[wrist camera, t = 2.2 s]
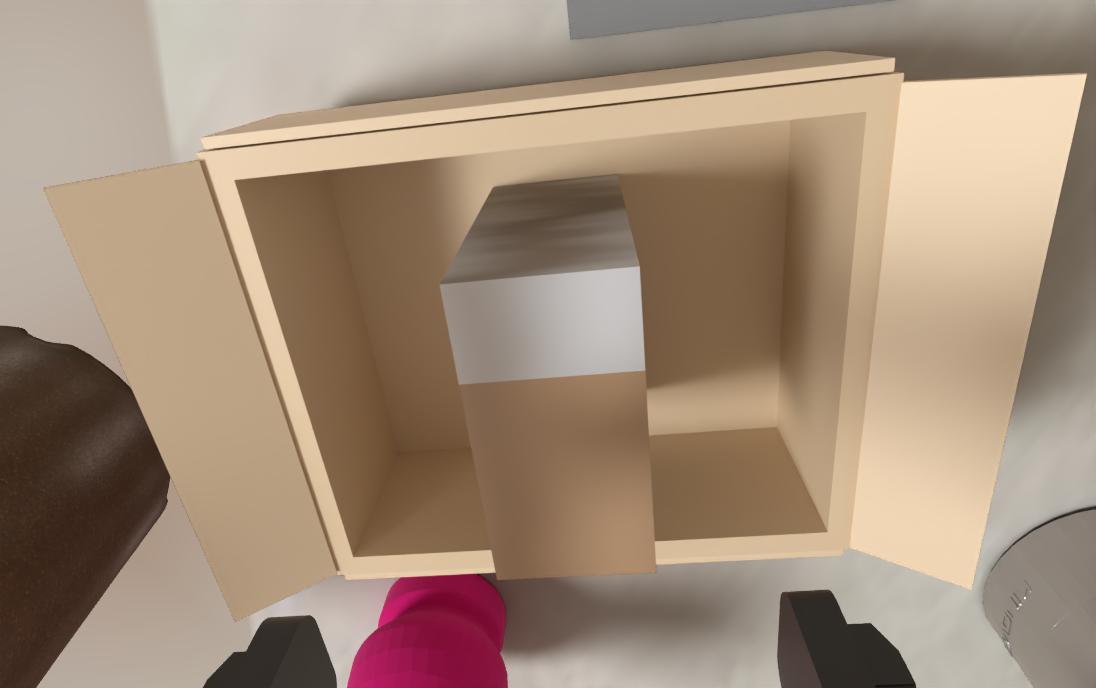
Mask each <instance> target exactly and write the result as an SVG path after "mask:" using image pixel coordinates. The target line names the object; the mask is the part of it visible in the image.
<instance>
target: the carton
mask: <svg viewBox="0 0 1096 688" xmlns="http://www.w3.org/2000/svg"><path fill="white" fill-rule="evenodd" d="M894 67H895V58H891V57H882V56H872V55H863V54H853V53H844V52H834V51H818V52H810V53H801V54H793V55H784V56H776V57H767V58H759V59H750V60H741V61H733V62H724V63H716V64H707V65H699V66H690V67H682V68H673V69H665V70H656V71H647V72H639V73H630V74H622V75H613V76H605V77H596V78H588V79H579V80H571V81H562V82H553V83H545V84H536V85H528V86H519V87H511V88H502V89H494V90H485V91H477V92H468V93H459V94H451V95H442V96H434V97H425V98H417V99H408V100H400V101H391V102H383V103H374V104H366V105H357V106H348V107H340V108H331V109H323V110H314V111H306V112H297V113H289V114H280V115H276V116H273V117H269V118H266V119H263V120H259V121H256V122H252V123H249V124H246V125H242V126H239V127H236V128H232V129H229V130H225V131H222V132H219V133H215V134H212V135H209V136H205V137H202V138H201V141H202V144H203V147H204V149H206V150H203V151H200V152H197V153H196V154H197V157H198V160H195V161H190V162H184V163H179V164H173V165H167V166H163V167H157V168H151V169H145V170H139V171H134V172H128V173H123V174H117V175H111V176H106V177H101V178H95V179H89V180H84V181H78V182H72V183H67V184H61V185H56V186H50V187H45V188H44V192H45V194H46V196H47V198H48V201H49V203H50V205H51V208H52V210H53V212H54V214H55V217H56V219H57V221H58V223H59V226H60V228H61V230H62V232H63V235H64V237H65V239H66V242H67V244H68V246H69V248H70V250H71V253H72V255H73V257H74V259H75V262H76V264H77V266H78V269H79V271H80V273H81V275H82V278H83V280H84V282H85V284H86V287H87V289H88V291H89V294H90V296H91V298H92V300H93V302H94V305H95V307H96V309H97V312H98V314H99V316H100V318H101V320H102V323H103V325H104V327H105V330H106V332H107V334H108V336H109V339H110V341H111V343H112V346H113V348H114V350H115V352H116V355H117V357H118V359H119V361H120V364H121V366H122V368H123V370H124V373H125V375H126V377H127V379H128V382H129V384H130V386H131V389H132V391H133V393H134V395H135V398H136V400H137V402H138V404H139V407H140V409H141V411H142V413H143V416H144V418H145V420H146V422H147V425H148V427H149V429H150V431H151V434H152V436H153V438H154V441H155V443H156V445H157V447H158V450H159V452H160V454H161V456H162V459H163V461H164V463H165V465H166V468H167V470H168V472H169V474H170V477H171V479H172V481H173V483H174V486H175V488H176V490H177V493H178V495H179V497H180V499H181V501H182V504H183V506H184V508H185V511H186V513H187V515H188V517H189V519H190V522H191V524H192V526H193V529H194V531H195V533H196V535H197V538H198V540H199V542H200V545H201V547H202V549H203V551H204V554H205V556H206V558H207V560H208V563H209V565H210V567H211V569H212V572H213V574H214V576H215V578H216V580H217V583H218V585H219V587H220V590H221V592H222V594H223V597H224V599H225V601H226V603H227V605H228V608H229V610H230V612H231V615H232V617H233V619H234V621H235V622H237V621H239V620H241V619H243V618H245V617H247V616H249V615H251V614H253V613H255V612H258V611H260V610H262V609H264V608H266V607H268V606H270V605H272V604H274V603H276V602H278V601H280V600H283V599H285V598H287V597H289V596H291V595H293V594H295V593H297V592H299V591H301V590H303V589H306V588H308V587H310V586H312V585H314V584H316V583H318V582H320V581H322V580H324V579H326V578H329V577H331V576H333V575H335V574H337V575H344V576H345V579H346V580H355V579H376V578H396V577H416V576H436V575H456V574H477V573H496V572H495V567H494V562H493V557H492V552H491V546H490V541H489V536H488V531H487V526H486V521H485V516H484V511H483V505H482V500H481V495H480V490H479V485H478V480H477V475H476V470H475V464H474V459H473V454H472V449H471V444H470V439H469V434H468V429H467V423H466V418H465V413H464V408H463V403H462V398H461V393H460V388H459V382H458V377H457V372H456V367H455V362H454V357H453V352H452V347H451V342H450V336H449V331H448V326H447V321H446V316H445V311H444V306H443V301H442V295H441V290H440V285H439V284H440V283H441V281H442V279H443V277H444V275H445V273H446V272H447V270H448V268H449V266H450V264H451V263H452V261H453V259H454V257H455V255H456V253H457V252H458V250H459V248H460V246H461V244H462V243H463V241H464V239H465V237H466V235H467V233H468V232H469V230H470V228H471V226H472V224H473V223H474V221H475V219H476V217H477V215H478V213H479V212H480V210H481V208H482V206H483V204H484V203H485V201H486V199H487V197H488V195H489V193H490V192H491V190H492V188H493V187H495V186H504V185H514V184H524V183H533V182H543V181H553V180H562V179H572V178H582V177H591V176H601V175H611V174H618V177H619V182H620V186H621V190H622V194H623V198H624V203H625V207H626V211H627V215H628V219H629V224H630V228H631V232H632V236H633V240H634V245H635V249H636V253H637V257H638V261H639V266H640V281H641V299H642V317H643V336H644V354H645V372H646V391H647V409H648V427H649V446H650V464H651V482H652V501H653V519H654V537H655V555H656V565H659V564H679V563H699V562H719V561H739V560H760V559H780V558H800V557H820V556H840V555H843V550H848V549H851V548H852V549H855V550H858V551H861V552H864V553H867V554H870V555H873V556H875V557H878V558H881V559H884V560H887V561H890V562H893V563H896V564H898V565H901V566H904V567H907V568H910V569H913V570H916V571H919V572H921V573H924V574H927V575H930V576H933V577H936V578H939V579H942V580H945V581H947V582H950V583H953V584H956V585H959V586H962V587H965V588H968V589H970V590H971V589H972V585H973V581H974V577H975V572H976V568H977V563H978V559H979V554H980V550H981V546H982V541H983V537H984V532H985V528H986V523H987V519H988V514H989V510H990V505H991V501H992V496H993V492H994V488H995V483H996V479H997V474H998V470H999V465H1000V461H1001V456H1002V452H1003V447H1004V443H1005V438H1006V434H1007V430H1008V425H1009V421H1010V416H1011V412H1012V407H1013V403H1014V398H1015V394H1016V389H1017V385H1018V380H1019V376H1020V372H1021V367H1022V363H1023V358H1024V354H1025V349H1026V345H1027V340H1028V336H1029V331H1030V327H1031V323H1032V318H1033V314H1034V309H1035V305H1036V300H1037V296H1038V291H1039V287H1040V282H1041V278H1042V273H1043V269H1044V265H1045V260H1046V256H1047V251H1048V247H1049V242H1050V238H1051V233H1052V229H1053V224H1054V220H1055V215H1056V211H1057V207H1058V202H1059V198H1060V193H1061V189H1062V184H1063V180H1064V175H1065V171H1066V166H1067V162H1068V157H1069V153H1070V149H1071V144H1072V140H1073V135H1074V131H1075V126H1076V122H1077V117H1078V113H1079V108H1080V104H1081V100H1082V95H1083V91H1084V86H1085V82H1086V77H1087V73H1088V72H1087V73H1066V74H1044V75H1023V76H1002V77H980V78H959V79H937V80H916V81H904V82H903V79H904V73H901V72H895V71H894Z"/></svg>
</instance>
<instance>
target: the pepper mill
mask: <svg viewBox="0 0 1096 688" xmlns="http://www.w3.org/2000/svg"><path fill="white" fill-rule="evenodd" d="M505 623H506V610H505V606H504V602H503V600H502V598H501V597H500V595H499V593H498V592H497V590H496V589H495V588H494V587H493V586H492V585H491V584H490V583H488V582H487V581H486V580H485V579H483V578H482V577H480V576H478V575H476V574H456V575H436V576H416V577H401V578H400V579H399V580H397V581H396V582H395V583H394V585H393V586H392V587H391V589H390V590H389V593H388V595H387V598H386V601H385V604H384V607H383V610H382V613H381V616H380V619H379V624H378V629H377V630H376V631H374V632H373V633H372V634H371V635H370V636H369V637H368V638H367V639H366V640H365V641H364V642H363V644H362V645H361V647H360V649H359V650H358V652H357V654H356V656H355V658H354V662H353V665H352V669H351V673H350V677H349V681H348V686H347V688H508V681H507V671H506V667H505V664H504V661H503V659H502V657H501V655H500V651H501V648H502V645H503V638H504V631H505Z"/></svg>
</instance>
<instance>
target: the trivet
mask: <svg viewBox="0 0 1096 688" xmlns="http://www.w3.org/2000/svg"><path fill="white" fill-rule="evenodd" d="M883 1H891V0H567V6H568V18H569V29H570V40H573V39H581V38H589V37H597V36H606V35H614V34H622V33H630V32H638V31H646V30H654V29H663V28H671V27H679V26H687V25H695V24H703V23H712V22H720V21H728V20H736V19H744V18H752V17H760V16H769V15H777V14H785V13H793V12H801V11H809V10H818V9H826V8H834V7H842V6H850V5H858V4H866V3H875V2H883Z"/></svg>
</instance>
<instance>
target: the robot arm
mask: <svg viewBox="0 0 1096 688" xmlns="http://www.w3.org/2000/svg"><path fill="white" fill-rule="evenodd" d="M983 606H984V610H985V614H986V617H987V619H988V620H989V622H990V623H991V625H992V626H993V628H994V630H995V631H996V632H997V634H998V635H999V637H1000V638H1001V640H1002V641H1003V643H1004V645H1005V648H1006V649H1007V650H1008V652H1009V653H1010V655H1011V656H1012V657H1013V658H1014V659H1015V660H1016V662H1017V663H1018V665H1019V666H1020V668H1021V669H1022V671H1023V672H1024V674H1025V675H1026V677H1027V678H1028V680H1029V681H1030V683H1031V684H1032V686H1033V687H1034V688H1096V509H1094V510H1089V511H1084V512H1079V513H1075V514H1072V515H1069V516H1066V517H1063V518H1060V519H1057V520H1054V521H1052V522H1050V523H1048V524H1046V525H1044V526H1042V527H1040V528H1038V529H1036V530H1034V531H1033V532H1031V533H1030V534H1028V535H1027V536H1025V537H1024V538H1023V539H1021V540H1020V541H1018V542H1017V543H1016V544H1014V545H1013V546H1012V547H1011V548H1010V549H1009V550H1008V551H1007V552H1006V553H1005V554H1004V555H1003V556H1002V557H1001V558H1000V559H999V561H998V562H997V564H996V565H995V567H994V568H993V570H992V571H991V573H990V574H989V577H988V580H987V582H986V585H985V587H984V596H983ZM777 659H778V670H779V676H780V682H781V686H782V688H916V683H915V681H914V680H913V678H912V676H911V674H910V672H909V670H908V668H907V666H906V664H905V662H904V660H903V658H902V656H901V654H900V652H899V651H898V650H897V649H896V648H895V647H894V646H893V645H892V644H891V643H890V642H889V641H888V640H887V639H886V638H885V637H884V636H883V635H882V634H881V633H880V632H879V631H878V630H877V629H876V628H875V627H874V626H873V625H872V624H871V623H864V624H847V623H846V620H845V618H844V616H843V614H842V612H841V609H840V607H839V605H838V603H837V601H836V599H835V597H834V595H833V593H832V592H831V591H830V590H814V591H795V592H783V593H782V594H781V599H780V615H779V633H778V651H777ZM203 688H337V681H336V674H335V671H334V668H333V665H332V662H331V660H330V657H329V654H328V652H327V649H326V646H325V644H324V641H323V638H322V636H321V633H320V630H319V628H318V625H317V623H316V620H315V619H314V618H313V617H312V616H310V615H308V616H289V617H271V618H267V619H265V620H264V621H263V622H262V623H261V625H260V626H259V628H258V630H257V632H256V634H255V635H254V637H253V639H252V641H251V643H250V645H249V647H248V649H247V651H246V652H234V653H233V654H232V655H231V656H230V657H229V658H228V659H227V660H226V661H225V662H224V663H223V664H222V665H221V666H220V667H219V668H218V669H217V670H216V672H214V674H212V676H211V677H210V678H209V679H208V680H207V681H206V683H205V685H204V687H203Z"/></svg>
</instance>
